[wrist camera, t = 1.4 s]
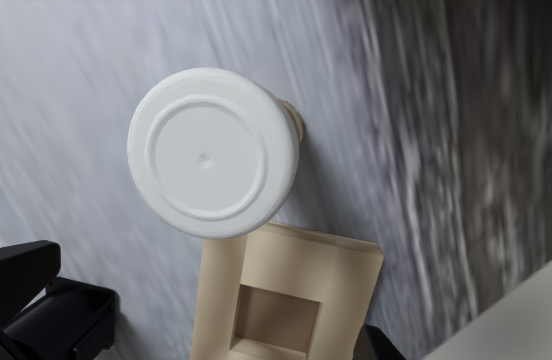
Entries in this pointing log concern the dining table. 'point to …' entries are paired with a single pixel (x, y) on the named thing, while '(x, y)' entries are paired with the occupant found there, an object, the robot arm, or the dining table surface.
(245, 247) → the socket block
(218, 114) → the sprinkles bottle
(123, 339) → the dining table surface
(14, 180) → the dining table surface
